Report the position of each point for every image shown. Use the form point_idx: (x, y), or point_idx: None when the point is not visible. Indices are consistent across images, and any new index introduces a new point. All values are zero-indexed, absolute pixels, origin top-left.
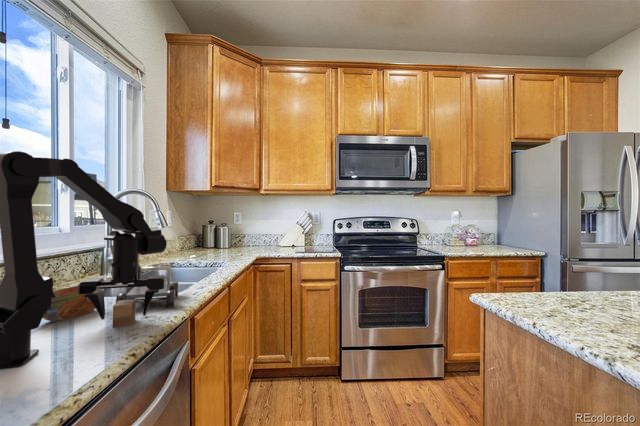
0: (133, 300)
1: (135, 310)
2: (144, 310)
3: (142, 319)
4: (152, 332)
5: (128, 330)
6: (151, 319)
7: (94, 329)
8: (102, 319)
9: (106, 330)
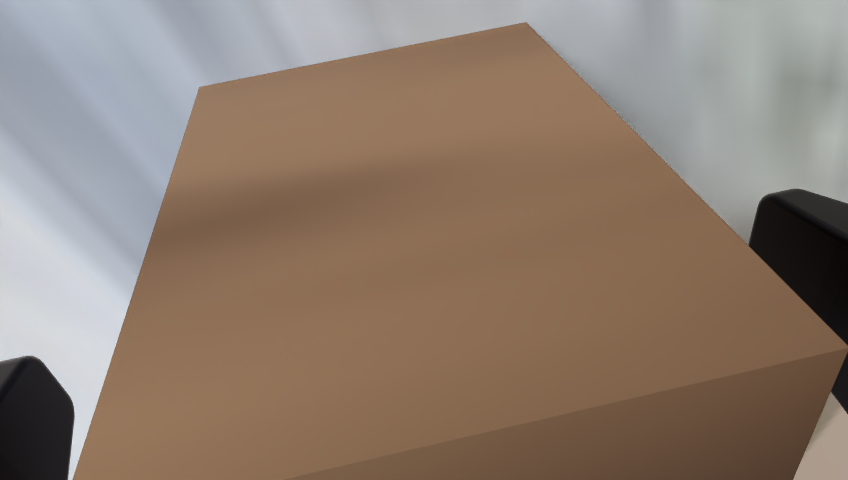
0: (748, 468)
1: (611, 114)
2: (845, 372)
3: (660, 16)
4: None
5: None
6: (815, 37)
7: (81, 412)
8: (57, 411)
9: None
